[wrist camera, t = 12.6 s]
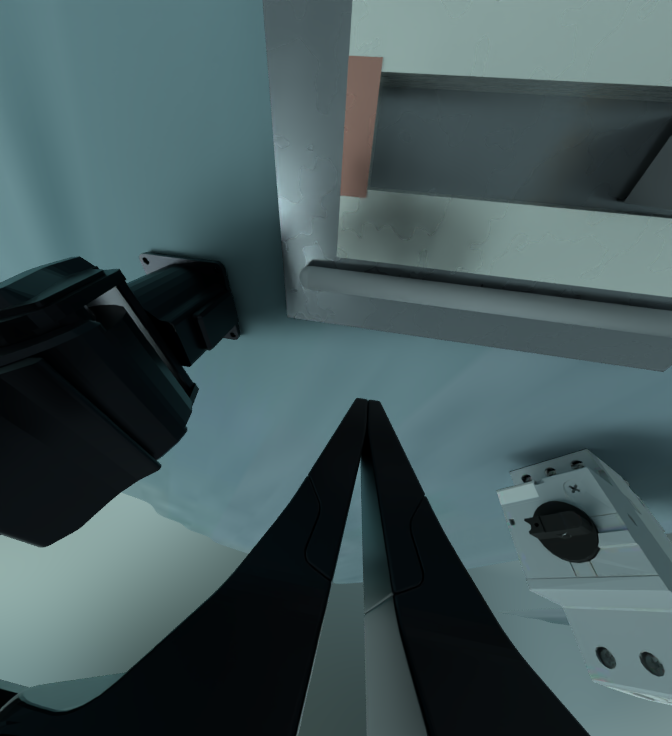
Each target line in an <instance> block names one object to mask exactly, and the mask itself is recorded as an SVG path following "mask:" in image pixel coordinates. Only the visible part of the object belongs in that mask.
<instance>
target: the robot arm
mask: <svg viewBox="0 0 672 736" xmlns="http://www.w3.org/2000/svg"><path fill="white" fill-rule="evenodd" d="M139 259H140V262H141V264H142V266H143V268H144V270H145V273H146V275H145V276H142V277H140V278H138V279H136V280H133V281H131V282H129V283H126V282H125V280H126V278H125V277H124V275H123V274H122V272H121V270H120V269H111V270H102V269H99V268H98V267H97V266H94V265H92V264H91V263H89V262H88V261H86V260H84V259H83V258H81V257H70V258H67V259H63V260H60V261H56V262H53V263H49V264H46V265H42V266H39V267H36V268H33V269H30V270H27V271H25V272H22V273H20V274H18V275H16V276H14V277H12V278H10V279H7V280H5V281H3V282H1V283H0V535H4V536H7V537H10V538H13V539H16V540H19V541H22V542H25V543H28V544H31V545H34V546H37V547H46V546H49V545H51V544H53V543H55V542H56V541H58V540H60V539H62V538H64V537H65V536H67V535H69V534H71V533H73V532H74V531H76V530H78V529H79V528H81V527H82V526H83V525H84V524H85V523H86V522H87V521H89V520H90V519H91V518H92V517H93V516H94V515H95V514H96V513H97V512H98V511H100V510H101V509H102V508H103V507H104V506H105V505H106V504H107V503H109V502H110V501H111V500H112V499H113V498H114V497H116V496H117V495H118V494H119V493H121V492H122V491H124V490H125V489H127V488H128V487H129V486H131V485H132V484H134V483H135V482H137V481H138V480H140V479H142V478H144V477H146V476H148V475H150V474H152V473H154V472H156V471H158V470H159V469H160V468H161V464H160V463H159V462H158V461H157V460H158V459H160V458H161V457H163V456H164V455H165V454H166V453H167V452H168V451H169V450H170V449H172V448H173V447H174V446H175V445H176V444H177V443H178V442H179V441H180V440H181V438H182V437H183V436H184V435H185V433H186V432H187V427H186V424H187V422H188V420H189V417H190V415H191V413H192V406H193V403H194V400H195V398H196V395H197V393H198V390H199V388H198V387H197V385H196V384H195V383H193V382H192V380H191V379H190V377H189V376H188V374H187V373H186V371H185V370H184V368H183V367H182V366H187V367H190V366H191V365H192V364H193V363H194V362H195V361H196V360H197V359H198V358H199V357H200V356H201V355H202V354H203V353H204V352H205V351H206V350H212V349H213V348H214V347H215V346H216V345H217V344H218V343H219V342H220V341H221V340H222V338H227V339H233V340H236V339H238V338H239V337H240V329H239V325H238V317H237V312H236V308H235V304H234V300H233V295H232V293H231V291H230V287H229V282H228V278H227V274H226V270H225V267H224V265H223V264H222V263H220V262H218V261H212V260H204V259H196V258H188V257H180V256H172V255H165V254H157V253H149V252H145V253H142V254H140V255H139ZM147 259H148V260H149V261H148V260H147ZM216 267H217V268H218V269H219V271H217V270H216ZM233 333H234V334H233ZM360 458H361V503H362V546H363V583H364V584H363V585H364V586H363V587H364V614H365V615H364V631H365V632H364V633H365V673H366V719H367V736H590V735H589V733H587V731H586V730H585V729H584V728H583V727H582V725H581V724H580V723H579V722H578V721H577V720H576V718H575V717H574V716H573V715H572V714H571V713H570V712H569V711H568V709H567V708H566V707H565V706H564V705H563V704H562V703H561V701H560V700H559V699H558V698H557V697H556V696H555V694H554V693H553V692H552V691H551V690H550V689H549V687H548V686H547V685H546V684H545V683H544V682H543V681H542V679H541V678H540V677H539V676H538V675H537V674H536V672H535V671H534V670H533V669H532V668H531V667H530V665H529V664H528V663H527V662H526V660H524V658H523V657H522V656H521V654H520V653H519V652H518V650H517V649H516V648H515V646H514V645H513V644H512V642H511V641H510V639H509V638H508V636H507V635H506V633H505V632H504V631H503V629H502V628H501V626H500V624H499V623H498V621H497V620H496V618H495V616H494V615H493V613H492V611H491V610H490V608H489V606H488V605H487V603H486V601H485V600H484V598H483V597H482V595H481V593H480V592H479V590H478V588H477V587H476V585H475V583H474V582H473V580H472V578H471V577H470V575H469V573H468V572H467V570H466V568H465V567H464V565H463V563H462V562H461V560H460V558H459V557H458V555H457V553H456V552H455V550H454V548H453V546H452V545H451V543H450V541H449V539H448V538H447V536H446V534H445V532H444V531H443V529H442V527H441V525H440V523H439V521H438V519H437V517H436V515H435V513H434V511H433V509H432V507H431V505H430V503H429V501H428V499H427V497H426V496H424V495H425V493H424V491H423V489H422V487H421V485H420V483H419V481H418V479H417V477H416V475H415V473H414V470H413V468H412V466H411V464H410V462H409V460H408V458H407V456H406V454H405V452H404V450H403V448H402V446H401V444H400V442H399V440H398V437H397V435H396V433H395V431H394V429H393V427H392V425H391V423H390V421H389V419H388V417H387V415H386V413H385V411H384V409H383V407H382V404H381V403H380V402H379V401H376V400H367V399H362V398H356V399H355V401H354V402H353V404H352V406H351V407H350V409H349V410H348V412H347V414H346V415H345V417H344V418H343V420H342V421H341V423H340V425H339V426H338V428H337V429H336V431H335V433H334V434H333V436H332V437H331V439H330V440H329V442H328V444H327V445H326V447H325V448H324V450H323V452H322V453H321V455H320V456H319V458H318V459H317V461H316V463H315V464H314V466H313V467H312V469H311V471H310V472H309V474H308V476H307V477H306V478H305V480H304V481H303V483H302V485H301V486H300V488H299V489H298V491H297V492H296V494H295V495H294V496H293V498H292V499H291V501H290V502H289V504H288V505H287V506H286V508H285V509H284V510H283V512H282V513H281V514H280V516H279V517H278V518H277V520H276V521H275V522H274V523H273V525H272V526H271V527H270V528H269V529H268V531H267V532H266V533H265V534H264V536H263V537H262V538H261V539H260V541H259V542H258V543H257V544H256V546H255V547H254V548H253V549H252V551H251V552H250V553H249V554H248V556H247V557H246V558H245V559H244V560H243V562H242V563H241V564H240V565H239V566H238V568H237V569H236V570H235V571H234V572H233V574H232V575H231V576H230V577H229V578H228V579H227V580H226V581H225V582H224V583H223V584H222V585H221V586H220V587H219V589H218V590H217V591H216V592H215V593H214V594H213V595H211V596H210V597H209V598H208V599H207V600H206V601H205V602H204V603H203V604H202V605H200V606H199V607H198V608H197V609H196V610H195V611H194V612H193V613H191V614H190V615H189V616H188V617H187V618H186V619H185V620H184V621H183V622H181V623H180V624H179V625H178V626H177V627H176V628H175V629H174V630H173V631H171V632H170V633H169V634H168V635H167V636H166V637H165V638H164V639H163V640H161V641H160V642H159V643H158V644H157V645H156V646H155V647H154V648H153V649H151V650H150V651H149V652H148V653H147V654H146V655H145V656H144V657H143V658H142V659H140V660H139V661H138V662H137V663H136V664H135V665H134V666H133V667H131V669H129V670H128V671H127V672H126V673H120V674H112V675H105V676H98V677H92V678H85V679H77V680H71V681H63V682H56V683H50V684H44V685H38V686H34V687H30V688H29V687H26V686H22V685H18V684H15V683H11V682H7V681H4V680H0V736H298V734H299V729H300V725H301V720H302V715H303V710H304V706H305V701H306V697H307V692H308V689H309V684H310V680H311V675H312V671H313V666H314V662H315V658H316V653H317V649H318V644H319V640H320V635H321V631H322V626H323V622H324V618H325V613H326V609H327V604H328V600H329V596H330V591H331V587H332V582H333V578H334V574H335V569H336V565H337V560H338V556H339V551H340V547H341V543H342V538H343V534H344V529H345V525H346V521H347V516H348V512H349V507H350V503H351V498H352V494H353V490H354V485H355V481H356V476H357V472H358V467H359V463H360Z"/></svg>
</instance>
